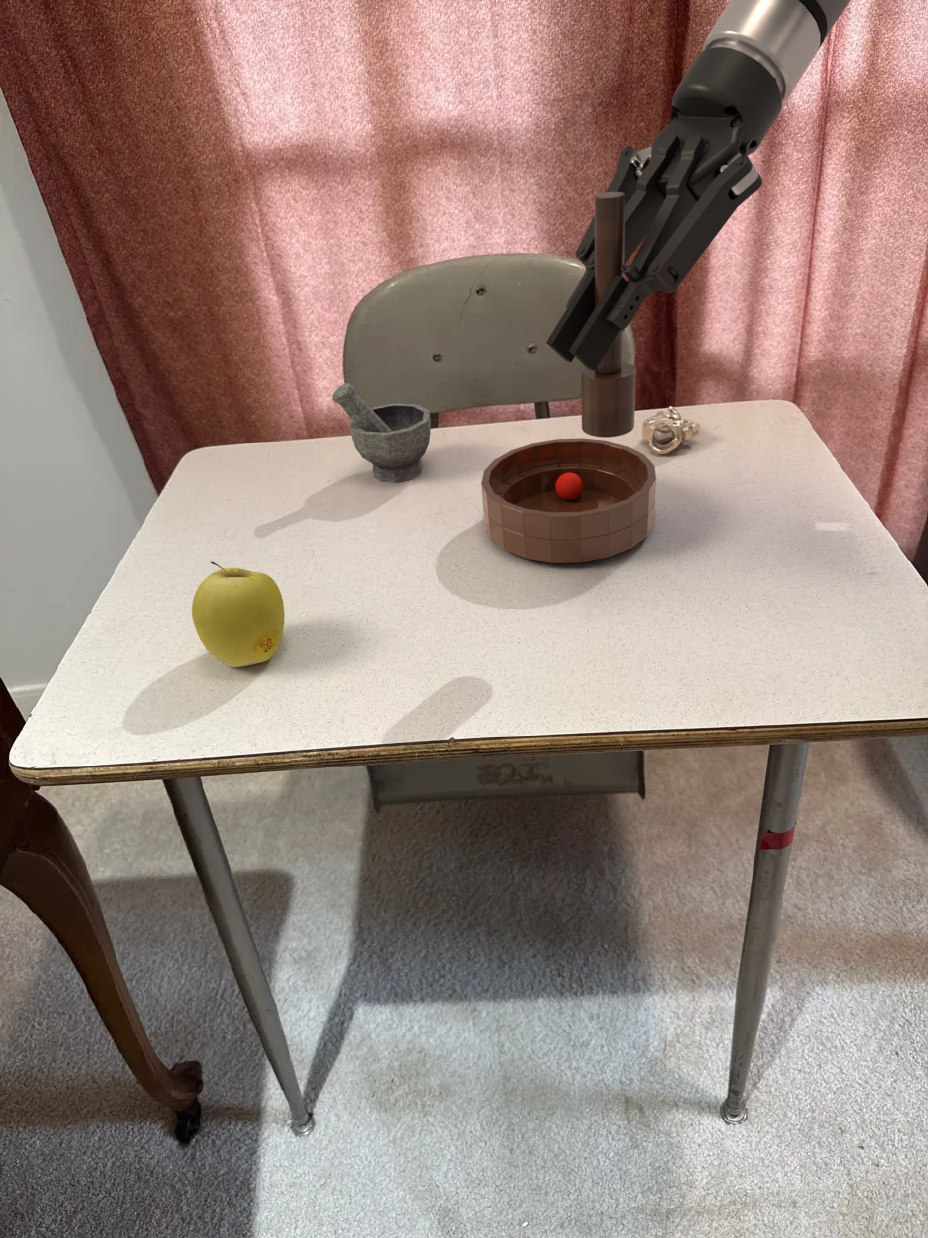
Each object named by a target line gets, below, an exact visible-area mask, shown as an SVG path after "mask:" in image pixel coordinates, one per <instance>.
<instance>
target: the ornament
mask: <svg viewBox="0 0 928 1238" xmlns="http://www.w3.org/2000/svg"><path fill="white" fill-rule="evenodd" d="M667 411H668V412H666V413H664V411H663V410H661V411H657V413H656V414H654V415H652V416H650V417H649V418H646V419H645V420H643V422H642V425H641V435H642V438H643V439H644V440H645V441H647V442H648V447H649V448H650V449H651V450H652V451H653V452H654V453H656V454H659V455H667V454H669V453H670V452H672V451H674V450H676V449H677V448H678V447H679V445H680V444H681V443H682V442H687V441H689V440H690V439H695V438H697V437H698V436H700V432H701V425H700V423H699V422H698V421H696V420H694V419H692V420H689V419H688V418H683V419H682V415H681V413H680V412H679V411H678V410H677V409H676V408H675V407H673V406H668V408H667ZM671 439H672V440H671ZM669 440H671V441H670V442H668V443H666V444H661V443H663V442H666V441H669Z"/></svg>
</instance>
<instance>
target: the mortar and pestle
mask: <svg viewBox="0 0 928 1238" xmlns="http://www.w3.org/2000/svg"><path fill="white" fill-rule="evenodd" d="M332 400H333V402H334V403H336V404H338V405H339V406H340V407H341V409H343V411H344V412H345V414H346V415H347V416H348V417H349V419H350V420H351V421H350V425H349V430H350V435H351V440H352V442H353V446H354V447H355V450H356V451H357V452H358V454H359V455H360V456H361V457H362V459H364V460H365V461H367V462H368V463H370V464H372V475H373V478H376V479H377V480H378V481H380V482H382V483H383V482H384V483H400V482H405V481H410V480H412V479H414V478H416V477H417V476H419V475H420V474H422V471H423V464H422V457H424V456H425V454H426V452H427V451H428V447H429V444H430V440H431V433H432V432H431V429H432V428H431V427H432V418H431V411H430V409H427V408H425V407H424V406H421V405H419V404H416V403H395V402H394V403H388V404H384V405H378V406H374V407H370V405H368V404H367V402H366V401H365V400H363V398H362V397H360V395H359V394H358V393H357V392H356V391H355V387H354V385H353V384H352V383H350V382H344V383H342V384H341V385H339V386H338V387H337V388H336V389H335V390H334V392H333V394H332Z"/></svg>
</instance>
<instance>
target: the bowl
mask: <svg viewBox="0 0 928 1238" xmlns="http://www.w3.org/2000/svg"><path fill="white" fill-rule="evenodd" d="M564 473H575V474H577V475H578V476H579V477H580V478H581V480H582V482H583V490H582V493H581V494H580V495H579V496H578V497H577V498H576V499H574V500H564V499H562V498H561V497H560V496H559V495H558V494H557V492H556V488H555V485H556V481H557V479H558V478H559V477H560V476H561V475H562V474H564ZM656 473H657V472H656V468H655V465H654V463H652V462H651V460H650V459H649V458H648V457H647V455H645V454H644V453H642V452H640V451H638V450H636V449H634V448H633V447H630V446H628V445H625V444H620V443H616V442H613V441H610V440H605V439H603V440H602V439H595V438H583V437H580V438H558V439H557V438H556V439H550V440H544V441H537V442H532V443H529V444H525V445H523V446H519V447H517V448H513V449H511V450H509V451H507V452H505V453H504V454H502V455H500V456H498V457H496V458H495V459H493V460H492V461H491V462H490V463H489V464H488V466H487V467H486V468H485V469H484V470H483V473H482V477H481V482H480V486H481V487H480V488H481V496H482V499H481V500H482V506H483V507H482V508H483V509H482V510H483V520H484V521H483V522H484V528H485V530H486V532H487V534H488V536H489V539H490V540H491V541H492V542H493V543H495V544H496V545H497V546H498V547H500V548H501V549H502V550H504V551H506V552H508V553H511V554H514V555H515V556H518V557H521V558H523V559H526V560H531V561H538V562H546V563H550V564H575V563H576V564H577V563H586V562H590V561H591V562H592V561H598V560H602V559H608V558H611V557H613V556H615V555H618V554H621V553H623V552H627V551H628V550H630V549H632V548H633V547H635V546H636V545H638V544H640V543H641V542H642V541H643V540H644V539H646V538H647V537H648V536H649V533H650V531H651V530H652V528H653V526H654V524H655V513H656V512H655V511H656V493H657V492H656V491H657V490H656V489H657V474H656Z"/></svg>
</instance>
